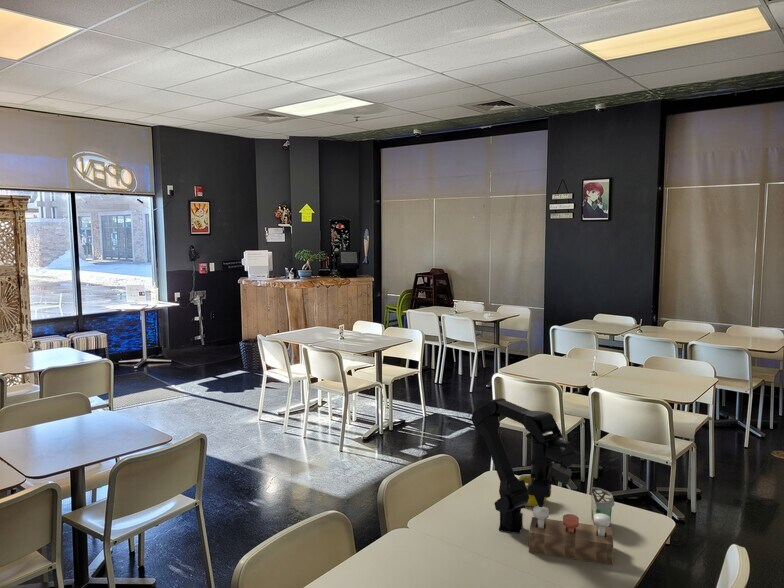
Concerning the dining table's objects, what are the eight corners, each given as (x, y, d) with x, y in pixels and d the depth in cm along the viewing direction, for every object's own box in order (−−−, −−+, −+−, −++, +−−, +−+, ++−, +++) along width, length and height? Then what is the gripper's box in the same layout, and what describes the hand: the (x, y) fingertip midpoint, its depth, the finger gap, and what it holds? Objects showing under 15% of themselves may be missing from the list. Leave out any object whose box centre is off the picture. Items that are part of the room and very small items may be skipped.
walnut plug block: (528, 552, 171) (528, 532, 170) (532, 535, 180) (532, 516, 179) (612, 564, 163) (613, 544, 163) (611, 546, 173) (612, 527, 172)
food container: (617, 535, 179) (617, 504, 178) (596, 534, 180) (596, 503, 179) (610, 517, 191) (611, 487, 190) (590, 515, 192) (591, 486, 191)
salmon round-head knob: (562, 545, 170) (562, 520, 169) (563, 537, 174) (563, 513, 173) (578, 547, 169) (578, 522, 168) (578, 540, 173) (578, 515, 172)
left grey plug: (532, 536, 173) (532, 511, 172) (533, 529, 177) (534, 504, 176) (547, 538, 171) (548, 513, 170) (548, 531, 175) (549, 506, 175)
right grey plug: (593, 545, 167) (593, 519, 166) (593, 537, 171) (593, 512, 171) (609, 547, 166) (610, 521, 165) (609, 539, 170) (609, 514, 169)
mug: (517, 508, 198) (517, 474, 197) (511, 494, 209) (511, 462, 208) (555, 508, 198) (555, 474, 196) (547, 494, 208) (547, 462, 207)
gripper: (568, 471, 160) (568, 525, 162) (571, 447, 178) (570, 496, 179) (527, 466, 164) (527, 519, 165) (533, 443, 181) (533, 492, 183)
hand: (540, 506), depth 173 cm, fingers closed
